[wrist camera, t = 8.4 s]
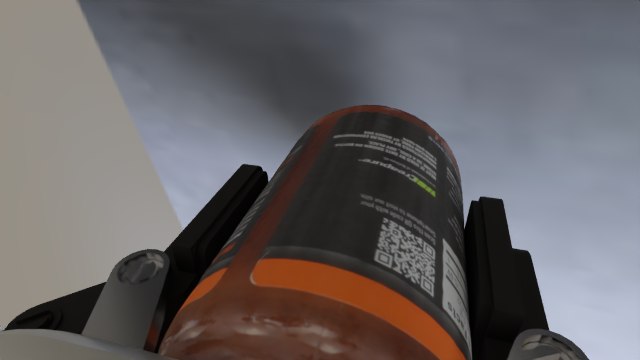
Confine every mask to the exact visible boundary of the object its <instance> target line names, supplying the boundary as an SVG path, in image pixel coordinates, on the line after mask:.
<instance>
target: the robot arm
mask: <svg viewBox="0 0 640 360" xmlns="http://www.w3.org/2000/svg"><path fill="white" fill-rule="evenodd" d="M267 184H268V175H267V172H266V171H263V169H262V167H260V166H255V165H248V164H243V165H241V166H240V168H239V169H238V170H237V171H236V172H235V173H234V174H233V175H232V177H231V178H230V179H229V180H228V181H227V182H226V183H225V184H224V185H223V187H222V188H221V189H220V190H219V191H218V192H217V193H216V194H215V196H214V197H213V198H212V199H211V200H210V201H209V202H208V203H207V204H206V205H205V207H204V208H203V209H202V210H201V211H200V212H199V213H198V214H197V216H196V217H195V218H194V219H193V220H192V221H191V222H190V223H189V224H188V226H187V227H186V228H185V229H184V230H183V231H182V232H181V233H180V234H179V236H178V237H177V238H176V239H175V240H174V241H173V242H172V243H171V245H170V246H169V247H168V248H167V249H166V250H165V251H164V252H163V251H159V250H156V249H147V250H141V251H138V252H135V253H132V254H130V255H128V256H127V257H125V258H123V259H122V260H121V261H119V262H118V263H117V264H116V265H115V267H114V268H113V270H112V272H111V274H110V276H109V278H108V280H107V282H104V283H101V284H98V285H95V286H92V287H89V288H86V289H84V290H81V291H78V292H75V293H72V294H69V295H66V296H63V297H60V298H57V299H55V300H52V301H49V302H46V303H43V304H40V305H37V306H35V307H33V308H30V309H28V310H26V311H25V312H23V313H22V314H20V315H19V316H17V317H16V318H15V319H14V320H12V321H11V322H10V323H9V324H8V326H7V327H6V328H5V330H3V329H2V328H1V327H0V360H178V359H174V358H170V357H167V356H163V355H159V354H158V351H159V347H160V344H161V342H162V340H163V338H164V336H165V334H166V332H167V330H168V328H169V327H170V325H171V323H172V321H173V319H174V318H175V316H176V314H177V313H178V311H179V310H180V308H181V307H182V306H183V304H184V303H185V301H186V300H187V298H188V297H189V295H190V294H191V293H192V291H193V290H194V289H195V288H196V286H197V285H198V283H199V282H200V280H201V278H202V276H203V274H204V273H205V271H206V270H207V269H208V268H209V266H210V265H211V263H212V262H213V260H214V259H215V257H216V256H217V254H218V253H219V252H220V250H221V249H222V248H223V246H224V245H225V244H226V242H227V241H228V239H229V238H230V236H231V235H232V234H233V232H234V231H235V229H236V228H237V226H238V225H239V224H240V222H241V221H242V219H243V218H244V216H245V215H246V214H247V212H248V211H249V209H250V208H251V207H252V205H253V204H254V202H255V201H256V200H257V198H258V196H259V195H260V194H261V193H262V191H263V190H264V188H265V187H266V186H267ZM464 233H465V251H466V269H467V284H468V300H469V318H470V336H471V350H472V360H589V359H588V358H587V356H586V355H585V354H584V353H583V351H582V350H581V349H580V348H579V347H578V346H576V345H575V344H574V343H573V342H572V341H570V340H568V339H567V338H565V337H563V336H562V335H560V334H557V333H555V332H552V331H549V327H548V323H547V319H546V315H545V311H544V307H543V303H542V299H541V295H540V291H539V287H538V283H537V279H536V275H535V271H534V267H533V263H532V259H531V255H530V253H529V252H528V251H526V250H519V249H513V248H512V245H511V240H510V235H509V230H508V224H507V219H506V214H505V209H504V204H503V200H502V199H496V198H489V197H480V199H479V201H473V200H472V202H471V205H470V209H469V213H468V217H467V221H466V225H465V230H464Z"/></svg>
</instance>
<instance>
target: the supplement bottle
mask: <svg viewBox="0 0 640 360" xmlns="http://www.w3.org/2000/svg"><path fill="white" fill-rule="evenodd" d="M158 354H159V355H163V356H167V357H170V358H174V359H178V360H472V350H471V336H470V318H469V300H468V284H467V269H466V251H465V233H464V215H463V197H462V187H461V177H460V173H459V168H458V165H457V162H456V160H455V158H454V155H453V153H452V151H451V149H450V148H449V146H448V144H447V143H446V141H445V140H444V139H443V138H442V137H440V136H439V134H438V133H437V132H436V131H435V130H434V129H432V128H431V127H430V126H429V125H428V124H427V123H426V122H424V121H422V120H420V119H419V118H417V117H416V116H414V115H411V114H409V113H406V112H404V111H401V110H398V109H395V108H390V107H387V106H380V105H360V106H353V107H348V108H345V109H341V110H338V111H335V112H333V113H331V114H328V115H326V116H325V117H322V118H321V119H319V120H318V121H317V122H315V123H314V124H313V125H312V126H311V127H310V128H309V129H308V130H307V131H306V132H305V134H304V135H303V136H302V137H301V138H300V139H299V140H298V141H297V143H296V144H295V146H294V147H293V149H292V150H291V151H290V153H289V154H288V156H287V157H286V159H285V160H284V161H283V163H282V164H281V165H280V167H279V168H278V170H277V171H276V173H275V174H274V176H273V177H272V178H271V180H270V181H269V183H268V184H267V186H266V187H265V188H264V190H263V191H262V193H261V194H260V195H259V196H258V198H257V200H256V201H255V202H254V204H253V205H252V207H251V208H250V209H249V211H248V212H247V214H246V215H245V216H244V218H243V219H242V221H241V222H240V224H239V225H238V226H237V228H236V229H235V231H234V232H233V234H232V235H231V236H230V238H229V239H228V241H227V242H226V244H225V245H224V246H223V248H222V249H221V250H220V252H219V253H218V254H217V256H216V257H215V259H214V260H213V262H212V263H211V265H210V266H209V268H208V269H207V270H206V271H205V273H204V274H203V276H202V278H201V280H200V282H199V283H198V285H197V286H196V288H195V289H194V290H193V291H192V293H191V294H190V295H189V297H188V298H187V300H186V301H185V303H184V304H183V306H182V307H181V308H180V310H179V311H178V313H177V314H176V316H175V318H174V319H173V321H172V323H171V325H170V327H169V328H168V330H167V332H166V334H165V336H164V338H163V340H162V342H161V344H160V347H159V351H158Z"/></svg>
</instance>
